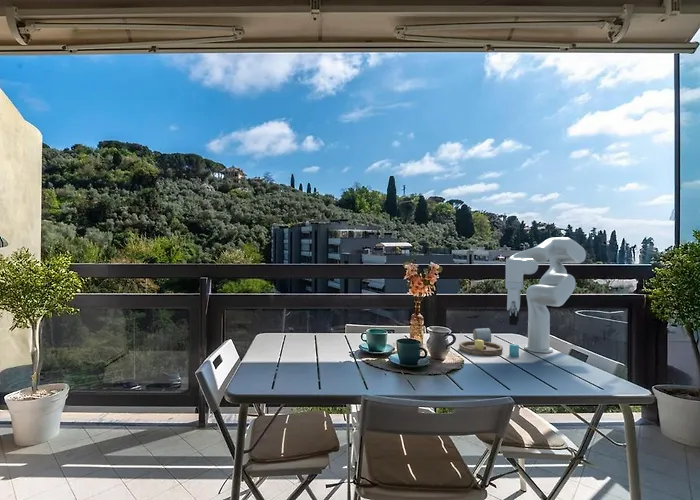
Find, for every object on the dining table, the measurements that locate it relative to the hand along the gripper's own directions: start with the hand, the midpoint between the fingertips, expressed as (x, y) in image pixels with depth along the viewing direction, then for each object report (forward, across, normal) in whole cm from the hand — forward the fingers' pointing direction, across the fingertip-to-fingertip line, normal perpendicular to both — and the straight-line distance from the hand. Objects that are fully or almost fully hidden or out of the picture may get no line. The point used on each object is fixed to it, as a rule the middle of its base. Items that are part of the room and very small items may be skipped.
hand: (514, 323), depth 188 cm
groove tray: (+15, -3, -15) cm, 21 cm away
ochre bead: (+14, +3, -15) cm, 21 cm away
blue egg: (+15, 0, 0) cm, 15 cm away
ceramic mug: (+15, -20, -16) cm, 30 cm away
